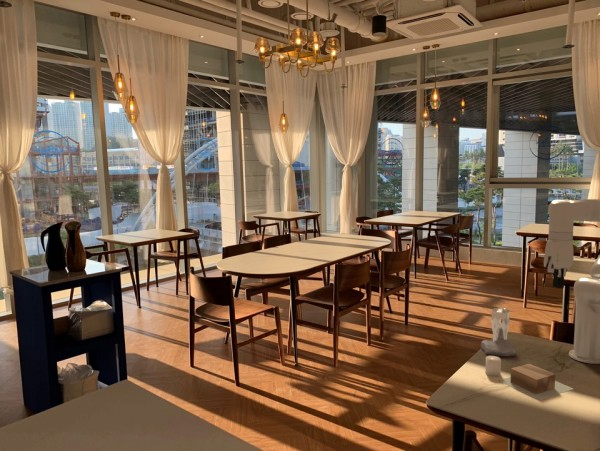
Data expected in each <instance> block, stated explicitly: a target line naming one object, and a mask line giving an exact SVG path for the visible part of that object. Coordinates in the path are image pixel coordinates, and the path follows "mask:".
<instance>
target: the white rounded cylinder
mask: <svg viewBox="0 0 600 451" xmlns="http://www.w3.org/2000/svg"><path fill="white" fill-rule="evenodd" d="M501 366H502V359H501V358H500V357H499V356H497V355H487V356H485V372H484V373H485V374H486V375H487V376H490V377H500V376H501V371H502V370H501V369H502V368H501Z"/></svg>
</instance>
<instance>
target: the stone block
mask: <svg viewBox="0 0 600 451" xmlns="http://www.w3.org/2000/svg"><path fill="white" fill-rule="evenodd" d="M480 349H481V350H482V351H483V352H484V353H485V354H487V355H491V356H498V357H499V356H501V357H515V356H516V349H515V346H514V344H513V343H512V341H510V340H508V339H507V340H504V339H503V340H496V341H492V340H487V339H483V340H482V341H481V343H480Z"/></svg>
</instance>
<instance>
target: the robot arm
mask: <svg viewBox="0 0 600 451" xmlns="http://www.w3.org/2000/svg"><path fill="white" fill-rule="evenodd" d="M547 211H548V216H549V217H548V219H549V220H548V238H547V239H548V240H546V244H545V249H544V254H543V255H544V257H543V266H544V268H547V273H551V276H552V287H553V288H556V289H564V287H565V277H566V274H567V272H568V271H570V270H571V267H572V266H573V264H574V243H573V242H574V241H573V240H574V237H573V236H574V222H591V223H592V222H593V223H598V222H599V223H600V199H599V198H597V199H595V198H591V199H590V198H587V199H586V198H585V199H584V198H583V199H564V198H563V199H554V200H552V201H551V202H550V203H549V204H548V208H547ZM589 275H590V277H589V276H584V277H583V276H582V277H579V278H577V280H575V282H574V285H573V294H574V300H575V317H574V335H573V336H574V337H573V349H570V351H568V356H569V357H570V358H571V359H573V360H575V361H577V362H582V363H586V364H592V365H593V364H594V365H600V254H599V255H598V257H597V258H596V259H595V261H594V263H593V264H592V266H591V268H590V271H589Z"/></svg>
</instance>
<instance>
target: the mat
mask: <svg viewBox="0 0 600 451" xmlns="http://www.w3.org/2000/svg"><path fill="white" fill-rule="evenodd" d="M497 381H498V382H501V383H502V384H504V385H507V386H508V387H510V388H512V389H515V390H517V391H519V392H521V393H523V394H525V395H527V396H530V397H531V398H534V399H535V400H538V401H542V400H544V399H547V398H551V397H554V396H557V395H560V394H562V393H566V392H569V391H573V390H574V388H573V387H572V386H569V385H567V384H566V385H565V384H564V383H562V382H559V381H558V380H555V389H552V390H549V391H546V392H542V393H539V394H534V393H532V392H530V391H528V390H526V389H523V388H521V387H519V386H517V385H515V384H513V383H511V376H509V377H505V378H503V379H499V380H497Z"/></svg>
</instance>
